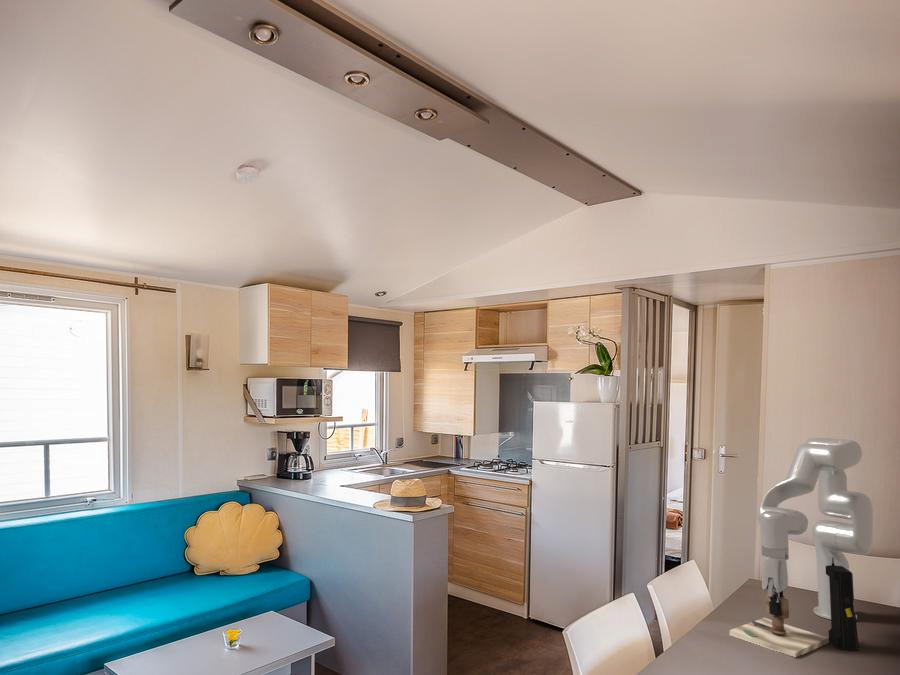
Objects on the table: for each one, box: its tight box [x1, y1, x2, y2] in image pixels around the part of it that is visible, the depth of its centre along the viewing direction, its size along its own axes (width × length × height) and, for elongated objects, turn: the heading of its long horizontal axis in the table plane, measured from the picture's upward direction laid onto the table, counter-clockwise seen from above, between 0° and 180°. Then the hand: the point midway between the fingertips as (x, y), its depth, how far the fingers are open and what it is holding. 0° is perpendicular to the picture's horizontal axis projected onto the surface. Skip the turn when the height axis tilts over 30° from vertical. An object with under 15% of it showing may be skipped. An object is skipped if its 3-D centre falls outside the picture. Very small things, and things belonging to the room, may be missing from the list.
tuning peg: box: [751, 593, 790, 635], centre depth 193 cm, size 12×4×11 cm, turn 30°
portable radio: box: [826, 559, 860, 652], centre depth 185 cm, size 8×6×25 cm
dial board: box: [729, 617, 830, 658], centre depth 190 cm, size 20×20×2 cm
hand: (777, 613), depth 190 cm, fingers closed on tuning peg, 2 cm apart
